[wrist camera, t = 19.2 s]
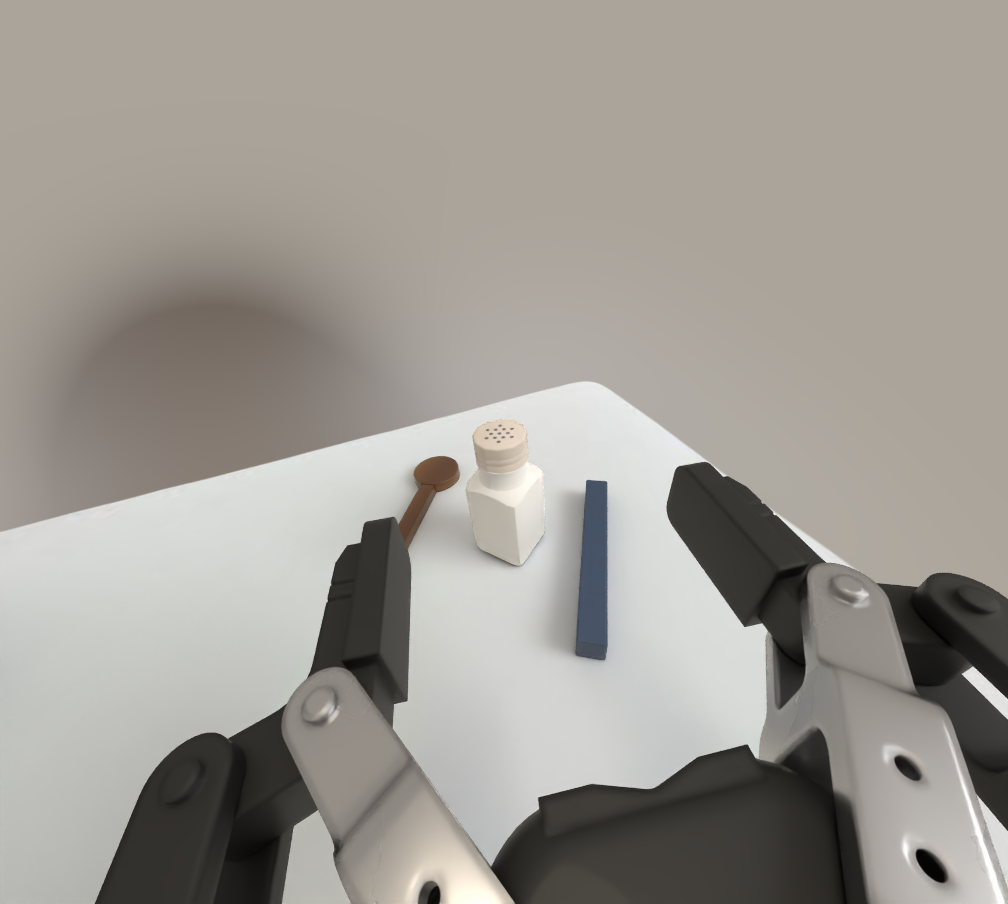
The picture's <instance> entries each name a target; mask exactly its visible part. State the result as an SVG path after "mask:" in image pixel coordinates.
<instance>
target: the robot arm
mask: <svg viewBox="0 0 1008 904" xmlns="http://www.w3.org/2000/svg"><path fill="white" fill-rule="evenodd" d="M667 514H668V518H669V520H670V523H671V524H672V526H673V527H674V529H675V530H676V532H677V533H678V534H679V536H680V537H681V539H682V540H683V541H684V543H685V544H686V546H687V547H688V548H689V550H690V551H691V553H692V554H693V555H694V557H695V558H696V560H697V561H698V562H699V564H700V565H701V567H702V568H703V569H704V571H705V572H706V574H707V575H708V576H709V578H710V579H711V581H712V582H713V583H714V585H715V586H716V588H717V589H718V590H719V592H720V593H721V595H722V596H723V597H724V599H725V600H726V602H727V603H728V604H729V606H730V607H731V609H732V610H733V611H734V613H735V614H736V616H737V617H738V619H739V620H740V621H741V623H742V624H743V626H744V627H747V626H752V625H756V624H761V623H763V625H764V626H765V627H766V629H767V630H768V633H767V635H766V640H765V642H766V691H767V714H766V720H765V724H764V727H763V730H762V734H761V738H760V746H759V759H756V758H755V757H754V755H753V753H752V751H751V750H750V748H749V746H748V744H747V745H743V746H739V747H735V748H731V749H727V750H723V751H719V752H716V753H712V754H708V755H704V756H700V757H697V758H696V759H695V760H693V761H692V762H690V763H689V764H688V765H686V766H685V767H684V768H682V769H681V770H679V771H678V772H677V773H675V774H674V775H672V776H671V777H670V778H668V779H667V780H666V781H664V782H663V783H661V784H660V785H659V786H657V787H655V788H653V789H639V788H628V787H617V786H607V785H596V784H590V785H586V786H582V787H578V788H574V789H570V790H566V791H562V792H559V793H555V794H551V795H547V796H543V797H539V798H538V801H539V810H537V811H536V812H535V813H533V814H532V815H530V816H529V817H528V818H527V819H526V820H524V821H523V822H522V823H521V824H520V825H519V826H518V827H517V828H516V829H515V831H514V832H513V833H512V834H511V836H510V837H509V838H508V839H507V841H506V842H505V844H504V845H503V847H502V848H501V850H500V852H499V853H498V855H497V857H496V859H495V861H494V863H493V865H492V867H491V866H490V865H489V863H488V862H487V861H486V859H485V858H484V856H483V855H482V854H481V852H480V851H479V849H478V848H477V847H476V845H475V844H474V842H473V841H472V839H471V838H470V837H469V835H468V834H467V832H466V831H465V830H464V828H463V827H462V825H461V824H460V823H459V821H458V820H457V818H456V817H455V816H454V814H453V813H452V811H451V810H450V809H449V807H448V806H447V804H446V803H445V802H444V800H443V799H442V797H441V796H440V795H439V793H438V792H437V790H436V789H435V788H434V786H433V785H432V783H431V782H430V781H429V779H428V778H427V776H426V775H425V773H424V772H423V771H422V769H421V768H420V766H419V765H418V764H417V762H416V761H415V759H414V758H413V757H412V755H411V754H410V752H409V751H408V750H407V748H406V747H405V745H404V744H403V742H402V741H401V740H400V738H399V737H398V735H397V734H396V733H395V731H394V730H393V710H394V704H396V703H401V702H405V701H407V699H408V666H409V632H410V598H411V564H410V558H409V554H408V550H407V548H406V545H405V542H404V540H403V537H402V534H401V531H400V529H399V526H398V523H397V521H396V519H395V517H390V518H385V519H379V520H374V521H368V522H365V524H364V527H363V532H362V538H361V543H358V544H353V545H347V547H346V548H345V550H344V551H343V553H342V554H341V556H340V557H339V559H338V560H337V562H336V563H335V567H334V572H333V576H332V580H331V586H330V589H329V594H328V598H327V599H328V602H327V603H326V607H325V611H324V616H323V620H322V625H321V629H320V633H319V638H318V642H317V647H316V651H315V656H314V660H313V664H312V667H311V671H310V673H309V675H308V677H307V679H306V680H305V681H304V682H303V683H302V684H301V685H300V686H299V687H298V688H297V689H296V690H295V692H294V693H293V694H292V696H291V697H290V699H289V701H288V703H287V704H286V705H284V706H283V707H282V708H281V709H279V710H278V711H276V712H275V713H273V714H271V715H270V716H268V717H266V718H264V719H262V720H261V721H259V722H257V723H255V724H254V725H252V726H250V727H248V728H246V729H245V730H243V731H241V732H239V733H237V734H236V735H234V736H232V737H230V738H228V739H227V738H226V737H224V736H223V735H221V734H218V733H204V734H200V735H198V736H195V737H193V738H191V739H189V740H187V741H185V742H184V743H182V744H181V745H179V746H178V747H177V748H176V749H174V750H173V751H172V752H171V753H170V754H169V755H168V756H167V757H166V758H164V759H163V761H162V762H161V763H160V764H159V765H158V766H157V767H156V769H155V770H154V771H153V773H152V774H151V776H150V777H149V779H148V780H147V782H146V784H145V785H144V787H143V789H142V791H141V793H140V795H139V798H138V800H137V803H136V805H135V807H134V810H133V812H132V815H131V817H130V820H129V822H128V824H127V827H126V829H125V832H124V834H123V837H122V839H121V841H120V844H119V846H118V849H117V851H116V853H115V856H114V858H113V861H112V863H111V866H110V868H109V870H108V873H107V875H106V878H105V880H104V883H103V885H102V887H101V890H100V892H99V895H98V897H97V900H96V902H95V904H282V898H283V891H284V885H285V879H286V872H287V866H288V859H289V853H290V846H291V840H292V833H293V827H294V826H295V825H296V824H298V823H299V822H301V821H302V820H304V819H305V818H307V817H308V816H310V815H311V814H313V813H314V812H316V811H317V810H319V812H320V814H321V816H322V819H323V821H324V823H325V825H326V827H327V829H328V831H329V833H330V835H331V838H332V840H333V843H334V853H333V857H334V862H335V866H336V869H337V872H338V875H339V877H340V880H341V882H342V884H343V886H344V889H345V891H346V893H347V895H348V897H349V899H350V901H351V903H352V904H1008V887H1007V884H1006V881H1005V878H1004V875H1003V872H1002V869H1001V866H1000V863H999V860H998V858H997V855H996V852H995V849H994V846H993V843H992V840H991V837H990V834H989V831H988V828H987V825H986V822H985V819H984V816H983V813H982V810H981V807H980V804H979V801H978V798H977V795H978V796H979V798H980V799H981V800H982V801H983V802H984V803H985V805H986V806H987V807H988V808H989V809H990V811H991V812H992V813H993V814H994V815H995V817H996V818H997V819H998V820H999V821H1000V822H1001V824H1002V825H1003V826H1004V827H1005V828H1006V830H1007V831H1008V719H1007V718H1005V717H1004V716H1003V715H1002V714H1001V713H1000V712H999V711H998V710H997V709H996V708H995V707H994V706H993V705H992V704H991V703H990V702H989V701H988V700H987V699H986V698H985V697H984V696H983V695H982V694H981V693H980V692H979V691H978V690H977V689H976V688H975V687H974V686H973V685H972V684H971V683H970V682H969V681H968V680H967V679H966V678H965V677H964V676H963V675H962V673H964V672H965V671H967V670H968V669H970V668H971V667H973V666H974V667H975V668H976V669H977V670H978V671H979V672H980V673H981V674H982V675H983V676H984V677H985V678H986V679H987V680H988V681H989V682H991V683H992V684H993V685H994V686H995V687H996V688H997V689H998V690H999V691H1000V692H1001V693H1002V694H1003V695H1004V696H1005V697H1006V698H1007V699H1008V599H1007V598H1006V597H1004V596H1003V595H1001V594H1000V593H999V592H997V591H995V590H994V589H992V588H990V587H989V586H986V585H985V584H983V583H980V582H978V581H976V580H974V579H971V578H968V577H965V576H961V575H957V574H952V573H936V574H933V575H931V576H930V577H928V578H927V579H926V580H925V581H924V582H923V583H922V584H921V585H920V586H919V587H911V586H901V585H890V584H879V583H875V582H874V581H873V580H871V579H870V578H869V577H867V576H866V575H864V574H862V573H861V572H859V571H857V570H855V569H852V568H850V567H847V566H844V565H840V564H836V563H826V562H825V561H824V560H823V559H821V558H820V557H819V556H818V555H817V554H816V553H815V552H814V551H813V550H812V549H811V548H810V547H809V546H808V545H807V544H806V543H805V542H804V541H803V540H802V539H801V538H800V537H798V536H797V535H796V534H795V533H794V532H793V531H792V530H791V529H790V528H789V527H788V526H787V525H786V524H785V523H784V522H783V521H782V520H781V519H780V518H779V517H778V516H777V515H774V514H773V512H772V511H771V510H770V509H769V508H768V507H767V506H766V505H765V504H762V503H761V500H760V499H759V498H758V497H757V496H756V495H755V494H754V493H752V491H751V490H750V489H749V488H747V487H746V486H744V485H742V484H741V483H739V482H737V481H735V480H734V479H732V478H730V477H728V476H726V477H723V476H722V475H721V474H720V473H719V472H718V471H717V470H716V469H715V468H714V467H713V466H712V465H711V464H709V463H707V462H700V463H695V464H689V465H684V466H679V467H677V468H676V470H675V473H674V477H673V481H672V485H671V489H670V493H669V497H668V501H667ZM976 794H977V795H976Z"/></svg>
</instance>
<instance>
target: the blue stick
mask: <svg viewBox="0 0 1008 904" xmlns="http://www.w3.org/2000/svg"><path fill="white" fill-rule="evenodd" d="M606 652H607V482H606V481H593V480H587V481H586V494H585V510H584V526H583V542H582V558H581V574H580V589H579V605H578V621H577V637H576V655H579V656H584V657H590V658H596V659H602V660H605V658H606Z"/></svg>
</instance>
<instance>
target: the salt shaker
mask: <svg viewBox="0 0 1008 904" xmlns="http://www.w3.org/2000/svg"><path fill="white" fill-rule="evenodd" d="M472 437H473V443H474V449H475V455H476V463H477V466H478V468H479V469H478V470H477V471H476V472H475V473H474V474H473V476H472V477H471V478H470V480H469V481H468V482H467V486H466V495H467V500H468V505H469V510H470V515H471V520H472V525H473V530H474V535H475V540H476V544H477V545H478V547H479V548H480V549H482V550H483V551H485V552H488V553H490V554H492V555H494V556H496V557H498V558H500V559H503V560H505V561H507V562H509V563H511V564H513V565H516V566H521V565H522V564H523V563H524V562H525V561H526V559H527V558H528V556H529V555H530V553H531V552H532V550H533V549H534V547H535V546H536V544H537V543H538V541H539V540H540V539H541V537H542V536H543V534H544V533H545V505H544V476H543V472H542V471H541V470H540V469H539V468H538V467H537V466H535V465H533V464H531V463H529V462H528V458H529V455H528V444H527V443H528V439H527V432H526V430H525V428H524V426H523V425H521V424H519V423H517V422H515V421H512V420H496V421H491V422H487V423H485V424H483V425H482V426H480V427H478V428H477V429H476V431H475V432H474V434H473V436H472Z"/></svg>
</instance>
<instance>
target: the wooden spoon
mask: <svg viewBox="0 0 1008 904" xmlns="http://www.w3.org/2000/svg"><path fill="white" fill-rule="evenodd" d="M459 475H460V472H459V468H458V464H457V462H456V461H455V460H454V459H452V458H450V457H446V456H437V457H432V458H429V459H427V460H424V461H423V462H421V463H420V464H419V465H418V466H417V467H416V468H415V471H414V478H415V481H416V484H417V486H418V487H419V490H418V491H417V493H416V495H415V497H414V498H413V500H412V502H411V504H410V505H409V507H408V509H407V511H406V512H405V514H404V516H403V518H402V519H401V521H400V523H399V525H398V526H399V529H400V531H401V534H402V537H403V540H404V542H405V545H406V548H408V546H409V544H410V542H411V540H412V538H413V536H414V535H415V533H416V531H417V529H418V527H419V525H420V523H421V521H422V519H423V517H424V515H425V513H426V511H427V509H428V507H429V505H430V503H431V501H432V499H433V497H434V496H435V494H436V492H438V491H442V490H445V489H447V488H449V487H451V486H452V485H454V484H455V483H456V482H457V480H458V478H459Z"/></svg>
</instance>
